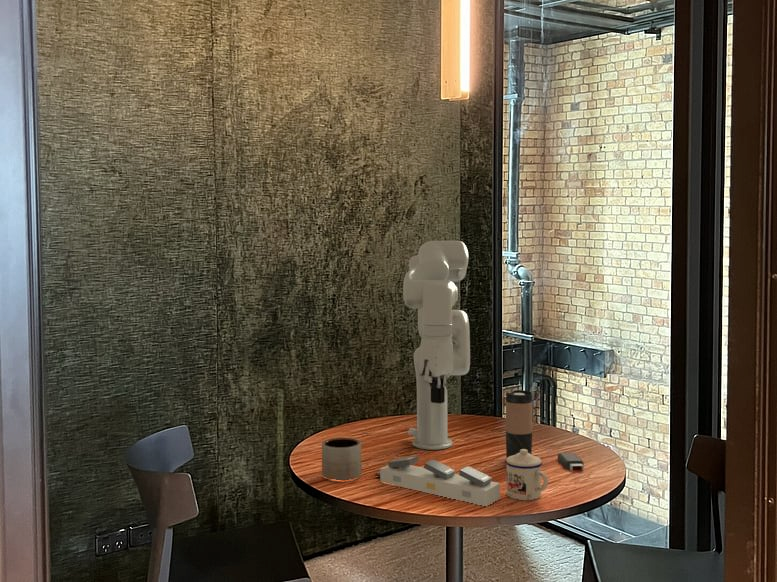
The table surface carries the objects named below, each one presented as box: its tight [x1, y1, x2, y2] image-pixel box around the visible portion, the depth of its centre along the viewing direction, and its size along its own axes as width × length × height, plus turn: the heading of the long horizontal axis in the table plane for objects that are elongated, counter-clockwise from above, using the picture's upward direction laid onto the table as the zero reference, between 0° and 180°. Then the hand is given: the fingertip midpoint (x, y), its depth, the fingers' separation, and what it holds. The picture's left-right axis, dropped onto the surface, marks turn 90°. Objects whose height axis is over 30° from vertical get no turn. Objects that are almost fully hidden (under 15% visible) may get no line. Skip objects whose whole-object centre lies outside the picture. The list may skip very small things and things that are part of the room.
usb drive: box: [557, 452, 584, 472], centre depth 219 cm, size 5×12×3 cm, turn 2°
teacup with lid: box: [505, 449, 549, 501], centre depth 193 cm, size 12×9×12 cm
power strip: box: [374, 464, 501, 508], centre depth 199 cm, size 36×7×5 cm, turn 54°
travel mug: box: [505, 389, 533, 459], centre depth 223 cm, size 8×8×20 cm
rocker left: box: [387, 455, 419, 468], centre depth 204 cm, size 7×4×2 cm, turn 54°
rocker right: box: [458, 466, 493, 487], centre depth 191 cm, size 7×4×2 cm, turn 54°
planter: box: [321, 437, 363, 480], centre depth 210 cm, size 11×11×10 cm
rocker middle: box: [423, 458, 456, 479], centre depth 197 cm, size 7×4×2 cm, turn 54°
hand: (437, 402), depth 196 cm, fingers closed
